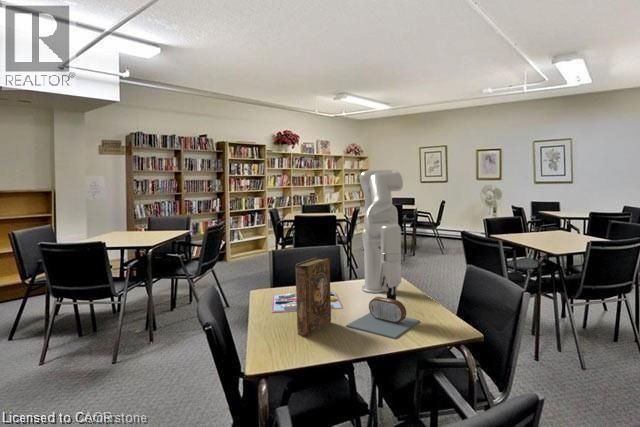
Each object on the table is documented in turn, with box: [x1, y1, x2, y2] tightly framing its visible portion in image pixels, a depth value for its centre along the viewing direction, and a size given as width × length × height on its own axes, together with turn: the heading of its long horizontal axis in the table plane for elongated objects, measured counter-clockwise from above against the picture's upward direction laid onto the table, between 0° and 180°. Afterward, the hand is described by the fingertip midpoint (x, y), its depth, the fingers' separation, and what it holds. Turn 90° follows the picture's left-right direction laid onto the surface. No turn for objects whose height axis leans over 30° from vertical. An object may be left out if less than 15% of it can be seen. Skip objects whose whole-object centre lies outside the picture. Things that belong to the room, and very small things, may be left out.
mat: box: [346, 312, 421, 340], centre depth 142 cm, size 20×20×1 cm
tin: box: [368, 296, 407, 323], centre depth 144 cm, size 15×3×8 cm, turn 51°
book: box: [295, 257, 332, 338], centre depth 139 cm, size 16×6×25 cm, turn 150°
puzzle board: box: [271, 291, 344, 314], centre depth 172 cm, size 30×23×3 cm
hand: (391, 303), depth 147 cm, fingers closed
